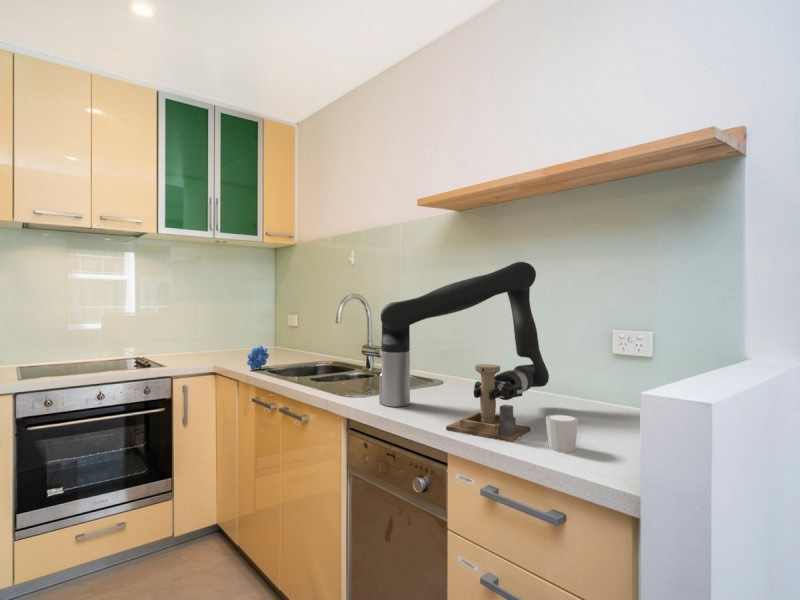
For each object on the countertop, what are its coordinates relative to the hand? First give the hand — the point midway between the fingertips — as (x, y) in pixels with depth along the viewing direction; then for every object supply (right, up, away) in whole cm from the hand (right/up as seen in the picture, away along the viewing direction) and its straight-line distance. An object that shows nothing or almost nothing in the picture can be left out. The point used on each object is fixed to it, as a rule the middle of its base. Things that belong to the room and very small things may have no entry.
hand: (483, 394), depth 116 cm
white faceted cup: (+15, -10, -13) cm, 22 cm away
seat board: (+2, -10, +2) cm, 10 cm away
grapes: (-93, -11, +114) cm, 147 cm away
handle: (+2, -8, +2) cm, 9 cm away
